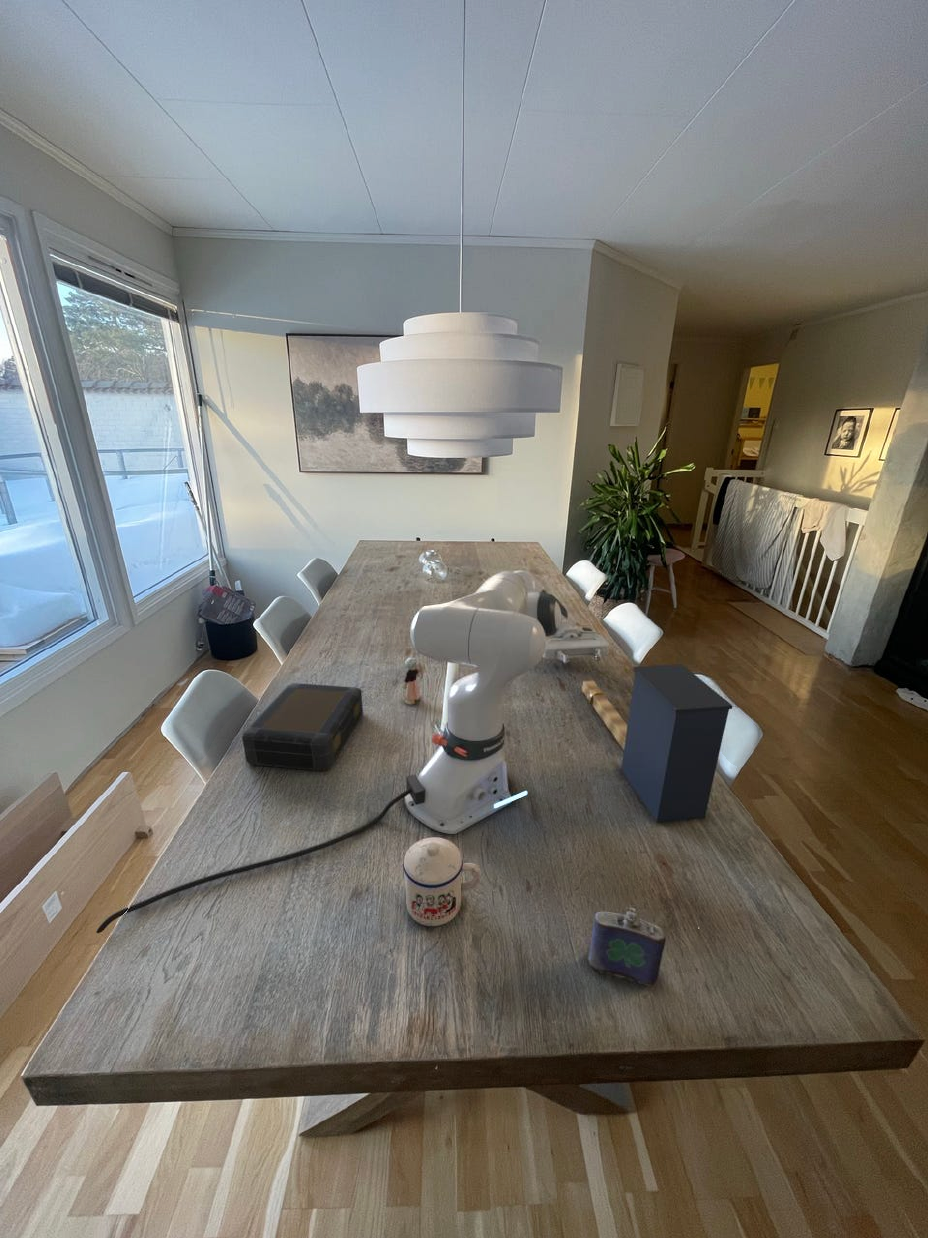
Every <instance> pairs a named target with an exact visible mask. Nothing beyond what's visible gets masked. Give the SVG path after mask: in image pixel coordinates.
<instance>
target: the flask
mask: <svg viewBox="0 0 928 1238" xmlns="http://www.w3.org/2000/svg"><path fill="white" fill-rule="evenodd" d="M625 910H627V911H626V914H624V913H619V912H612V911H597V912H596V913H595V914H594V917H593V924H592V934H591V940H590V946H589V952H588V958H587V959H588V964H589V967H591V968H592V969H593V970H596V971H597V972H599V973H602V974H604V973H607V974H610V975H612V976H613V977H616V978H619V979H624V978H627V979H628V980H629V981H631V982H632V981H636V982H637V983H638V984H642V985H644V986H647V987H652V986H654V985H657V980H658V977H659V973H660V967H661V964H662V959H663V953H664V950H665V944H666V941H667V938H666V934H665V932H664V930H663V928H661V927H660V926H659V925H657V924H654V923H651V922H649V921H647V920H644V919H641V918H640V917H639V916H637V914H636V912H637V910H636V909H635V908H634V907H632V906H631V907H625Z"/></svg>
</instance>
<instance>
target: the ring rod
mask: <svg viewBox="0 0 928 1238" xmlns="http://www.w3.org/2000/svg"><path fill="white" fill-rule="evenodd" d="M581 691H582V692H583V694H584V695H585V697H586V699H587V700H588V703H590V705H591V706H592V707H593V708H594V710H595V712H597V714H598V715H599V717H600V718H601V720H602V721H603V723H604V724H605V726H606V727H607V729H608V730H609V731H610V733H611V734H612V736H613V737H614V738H615V740H616V741H617V743H618V744H619V746H620V748H622V750H623V751H624V746H625V739H626V732H627V725H628V723H626V721H625V720H624V719H623V718H622V716H621V715H620V713H619V712H618V711H617V710H616V708H615V707H614V705H613V704H612V703H611V702H610V700H609V699H608V698H607V696H606V695H605V693H604V692H603V691H602V690H601V689H600V687H599V685H597V683H596V682H595V681H594V680H592V679H591V680H583V681H582V687H581Z"/></svg>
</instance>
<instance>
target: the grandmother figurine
mask: <svg viewBox="0 0 928 1238" xmlns="http://www.w3.org/2000/svg"><path fill="white" fill-rule="evenodd" d="M417 663H418V659H417V658H415V657H408V658H407V659H406V660H405V661H404V665H405V667H406V668H407V671H406V673H405V678H404V680H403V685H402V688H403V689H404V690H406V691H405V695H406V696H405V704H407V705H409V706H413V705H414V704H415V703H416V701H419V699H420V698H421V696H420V689H419V684H418V679H417V678H419V676H420V674H419V670H418V669H417Z"/></svg>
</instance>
